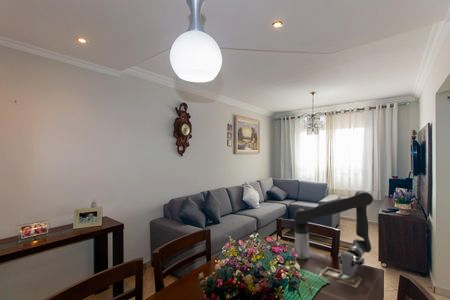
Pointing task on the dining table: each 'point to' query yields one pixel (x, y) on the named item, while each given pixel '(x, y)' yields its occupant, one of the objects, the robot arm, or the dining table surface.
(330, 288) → the dining table surface
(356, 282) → the dock
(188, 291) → the dining table surface
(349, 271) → the plug
